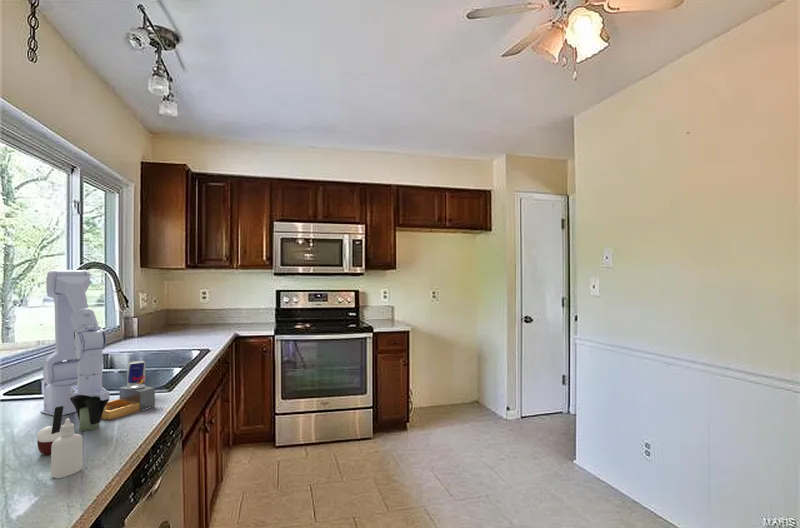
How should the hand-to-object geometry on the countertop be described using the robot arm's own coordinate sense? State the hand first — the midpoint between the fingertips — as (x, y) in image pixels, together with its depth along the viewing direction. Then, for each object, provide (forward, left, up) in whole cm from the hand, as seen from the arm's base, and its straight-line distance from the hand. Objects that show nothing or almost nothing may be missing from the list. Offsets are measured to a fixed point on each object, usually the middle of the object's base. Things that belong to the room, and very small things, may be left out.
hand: (89, 422), depth 127 cm
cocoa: (+9, -14, -2) cm, 17 cm away
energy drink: (-16, +25, -2) cm, 30 cm away
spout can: (0, 0, -2) cm, 2 cm away
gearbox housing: (-6, +13, -2) cm, 15 cm away
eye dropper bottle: (+24, -19, -2) cm, 31 cm away
